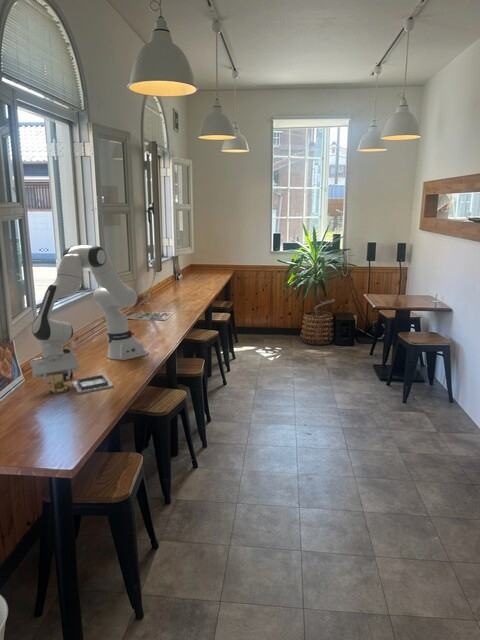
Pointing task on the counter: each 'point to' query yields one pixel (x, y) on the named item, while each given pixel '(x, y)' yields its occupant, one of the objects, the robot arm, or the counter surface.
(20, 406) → the counter surface
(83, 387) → the carrier
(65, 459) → the counter surface
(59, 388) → the tan chunky piece
